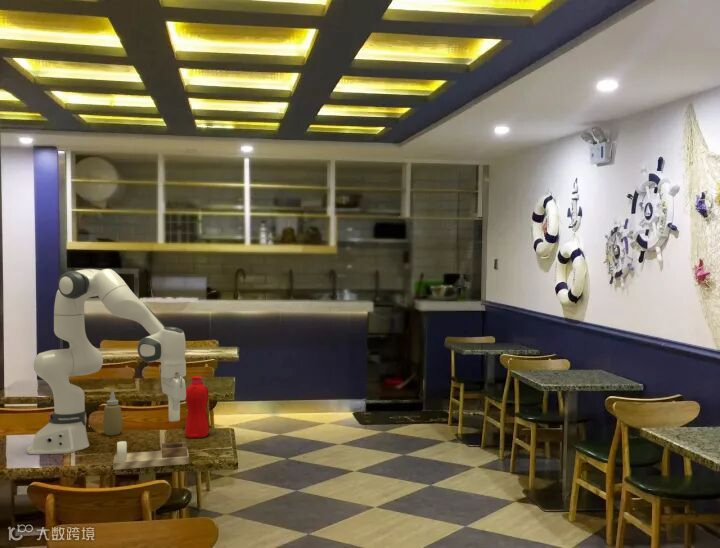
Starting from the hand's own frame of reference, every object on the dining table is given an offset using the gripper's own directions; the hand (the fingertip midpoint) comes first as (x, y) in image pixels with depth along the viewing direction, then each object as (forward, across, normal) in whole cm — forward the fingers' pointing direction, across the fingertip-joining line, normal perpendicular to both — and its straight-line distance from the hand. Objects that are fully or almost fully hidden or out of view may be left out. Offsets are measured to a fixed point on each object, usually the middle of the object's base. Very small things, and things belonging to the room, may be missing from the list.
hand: (174, 409), depth 261 cm
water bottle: (+19, +32, -19) cm, 41 cm away
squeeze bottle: (+19, +53, +12) cm, 58 cm away
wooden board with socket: (+19, +2, +8) cm, 21 cm away
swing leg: (+16, +3, +18) cm, 24 cm away
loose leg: (+4, 0, 0) cm, 4 cm away
